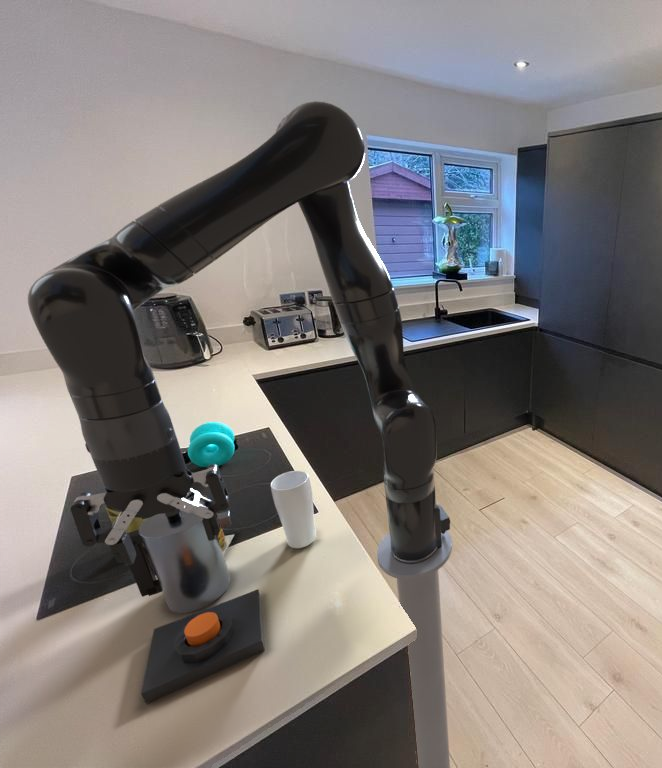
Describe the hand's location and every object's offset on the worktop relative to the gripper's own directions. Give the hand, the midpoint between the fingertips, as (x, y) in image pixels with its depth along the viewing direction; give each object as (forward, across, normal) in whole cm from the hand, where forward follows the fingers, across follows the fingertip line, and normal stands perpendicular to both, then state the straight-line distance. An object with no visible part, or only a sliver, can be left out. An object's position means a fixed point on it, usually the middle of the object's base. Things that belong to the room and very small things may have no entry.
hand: (173, 548), depth 53 cm
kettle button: (+17, 0, -1) cm, 17 cm away
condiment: (+21, +3, -26) cm, 34 cm away
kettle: (+21, +3, -15) cm, 26 cm away
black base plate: (+21, 0, -2) cm, 21 cm away
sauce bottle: (+21, +13, -34) cm, 42 cm away
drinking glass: (+21, -14, -20) cm, 32 cm away
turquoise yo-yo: (+21, +3, -65) cm, 69 cm away
